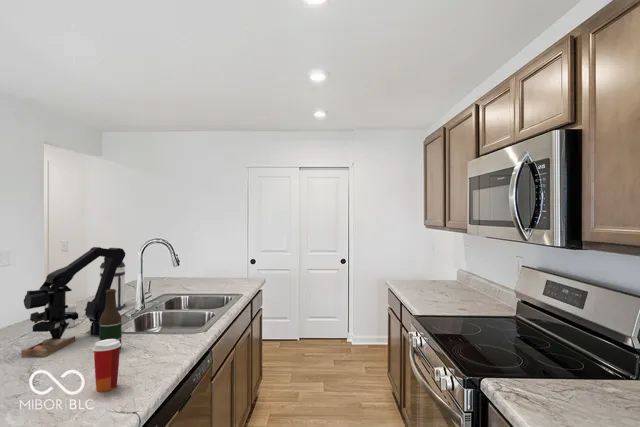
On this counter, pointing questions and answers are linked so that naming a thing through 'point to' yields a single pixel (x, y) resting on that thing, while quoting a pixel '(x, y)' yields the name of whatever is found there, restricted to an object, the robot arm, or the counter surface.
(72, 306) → the white cup
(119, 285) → the coffee press
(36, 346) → the ball
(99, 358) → the paper cup
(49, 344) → the tan wooden brick
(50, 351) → the brown wooden tray
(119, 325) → the beer bottle
